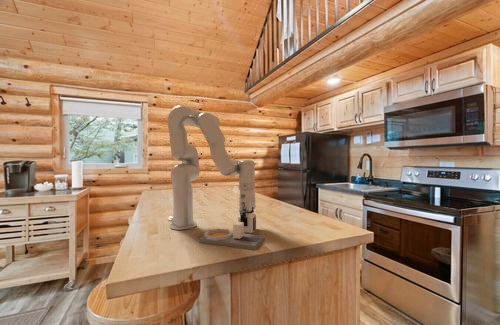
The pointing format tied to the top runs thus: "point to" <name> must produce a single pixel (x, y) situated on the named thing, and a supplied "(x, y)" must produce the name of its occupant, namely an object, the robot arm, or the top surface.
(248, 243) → the grey tray
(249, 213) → the medicine bottle
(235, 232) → the block
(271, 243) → the top surface
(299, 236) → the top surface
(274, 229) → the top surface
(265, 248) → the top surface
